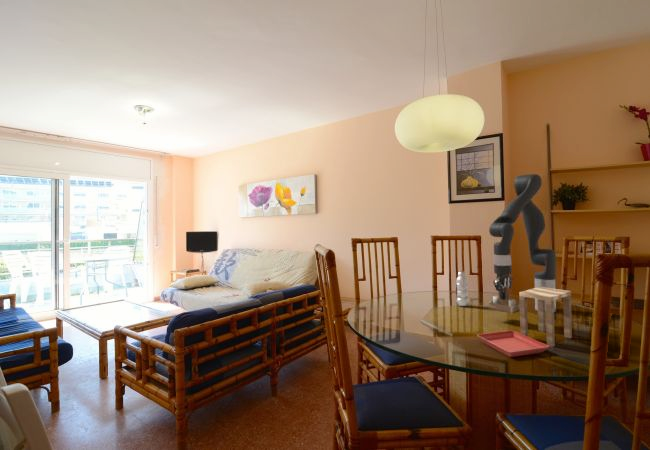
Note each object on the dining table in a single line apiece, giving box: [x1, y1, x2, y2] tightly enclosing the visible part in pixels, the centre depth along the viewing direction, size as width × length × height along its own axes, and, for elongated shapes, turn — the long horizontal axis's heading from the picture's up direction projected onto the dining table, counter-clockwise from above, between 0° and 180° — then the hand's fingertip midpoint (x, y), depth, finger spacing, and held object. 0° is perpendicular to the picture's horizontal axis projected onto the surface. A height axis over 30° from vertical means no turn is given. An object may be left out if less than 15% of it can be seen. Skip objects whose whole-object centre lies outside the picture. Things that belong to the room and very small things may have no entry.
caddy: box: [487, 286, 520, 315], centre depth 156 cm, size 8×12×11 cm, turn 31°
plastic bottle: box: [455, 270, 470, 307], centre depth 187 cm, size 6×7×20 cm
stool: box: [518, 287, 573, 348], centre depth 135 cm, size 17×12×20 cm
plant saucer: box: [476, 330, 550, 358], centre depth 127 cm, size 18×18×3 cm
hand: (503, 298), depth 156 cm, fingers closed on caddy
